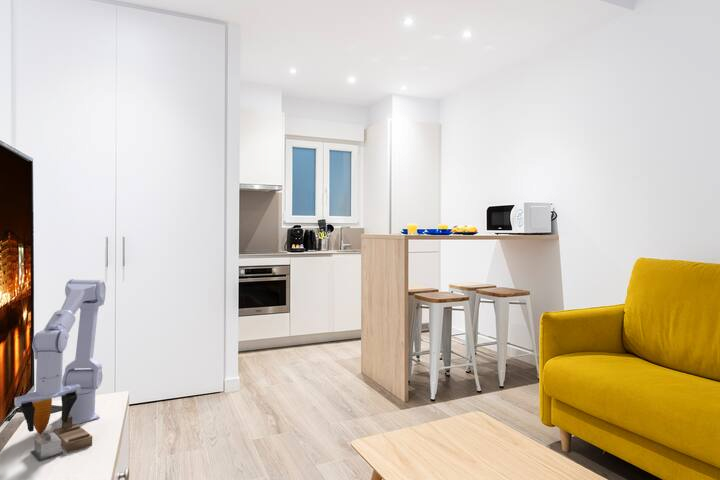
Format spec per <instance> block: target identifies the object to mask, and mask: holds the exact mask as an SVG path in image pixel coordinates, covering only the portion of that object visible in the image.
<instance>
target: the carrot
mask: <svg viewBox="0 0 720 480" xmlns="http://www.w3.org/2000/svg"><path fill="white" fill-rule="evenodd" d="M52 403H53V398H51V399H46V400H42V401H37V402H33V403H32V404H33V406H34V407H35V412H34V429H35V430H36V432H37V434H38V435H39V436H42V435H43V433H45V430H46V429H47V426H48V425H49V421H50V418H51V414H52V406H53V405H52Z"/></svg>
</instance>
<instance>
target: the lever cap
mask: <svg viewBox="0 0 720 480" xmlns="http://www.w3.org/2000/svg"><path fill="white" fill-rule="evenodd" d="M33 441H34V444H33V450H34V452H35V453H36V454H37V455H38V456H39V458H40V459H43V458H46V457H49V456H53V455H56V454H59V453H61V451H62V447H61V439H60V438H59V437H58V436H57V435H56V434H55V433H53V432H43V433H42V435H39V436H35V437H34V439H33Z"/></svg>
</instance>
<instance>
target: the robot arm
mask: <svg viewBox="0 0 720 480" xmlns="http://www.w3.org/2000/svg"><path fill="white" fill-rule="evenodd" d="M106 291H107V288H106V283H105V281H104V280H103V279H74V278H70V279H69V280H68V281H67V282H66V284H65V288H64V295H65V299H64V302H63V305H62V306H61V308H60V309H59V310H56V311H54V313H53V314H52V316H51V317H50V319H49V320H48V322H47V323H46V324H45V327H44V328H43V330H42V329H41V330H40V331H39V332H36V333H35V335H34V337H33V338H32V339H33V340H32V344H31V347H32V350H33V353H34V356H33V357H34V360H36V373H35V391H33V392H29V393H26V394H24V395H21V396H15V397H14V404H13V405H14V406H15V407H16V408H19V409H20V410H21V412H22V414H23V417H24V418H25V422H26V425H27V426H26V427H27V430H28V431H29V432H34V429H35V427H34V412H35V407H34V406H33V404H32V403H33V402H37V401H42V400H46V399H51V398H52V399H56V398H61V422H62V421H63V422H64V423H65V422H67V420H68V416H69V414H70V415H71V416H72V424H78V425H80V424H83V423H86V422H90V421H92V420H93V421H94V420H97V419H100V415H99V414H97V412H96V390H98V389H99V388H100V386H101V384H102V382H103V364H102V363H100V362H99V361H98V360H96V359H95V358H94V352H95V344H96V343H95V341H96V331H97V321H98V311H99V308H100V307H101V306H104V303H105V300H106ZM79 309H80V312H79V323H78V328H77V329H78V330H77V331H78V332H77V339H76V340H77V341H76V348H75V359H73V360H72V361H71V362H69V363H68V364H67V365H66V366H65V368H64V373H63V364H64V363H63V360H64V359H63V358H64V357H63V356H64V355H63V354H64V351H65V350H66V348H67V345H68V341H69V337H70V334H69V333H70V331H71V329H72V328H73V326H74V324H75V323H76V315H75V314H76V313H77V311H78V310H79Z"/></svg>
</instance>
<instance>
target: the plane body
mask: <svg viewBox="0 0 720 480" xmlns="http://www.w3.org/2000/svg"><path fill="white" fill-rule="evenodd" d="M52 433H55V434H56V435H57V436H58V437H59V438H60V439H61V449H63V450H64V451H65V452H66V453H71V452H74V451H77V450H81V449H82V450H83V449H84V448H88V447H91V446H93V435H91V434H90V433H89V432H88V431H87V430H85V429H84V428H83V427H82V426H80V424H72V416H71V415H70V414H69V416H68V420H67V422H65V423H64V422H63V421H62V420H61V427H58V428H55V429H52Z"/></svg>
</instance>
